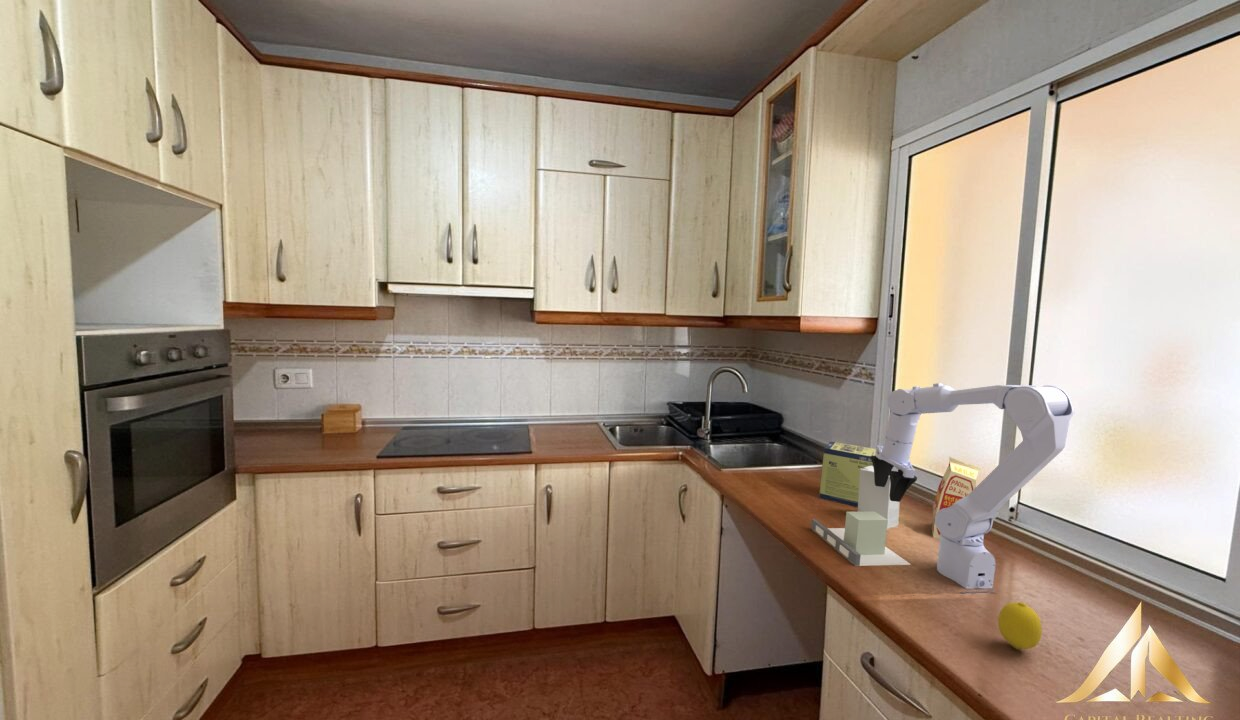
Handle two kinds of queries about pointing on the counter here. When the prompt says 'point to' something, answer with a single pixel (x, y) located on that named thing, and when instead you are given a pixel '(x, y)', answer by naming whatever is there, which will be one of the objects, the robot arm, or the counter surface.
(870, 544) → the box
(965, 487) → the milk carton
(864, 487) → the skincare box
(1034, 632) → the lemon
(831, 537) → the shelf board
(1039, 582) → the counter surface
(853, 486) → the protein box
